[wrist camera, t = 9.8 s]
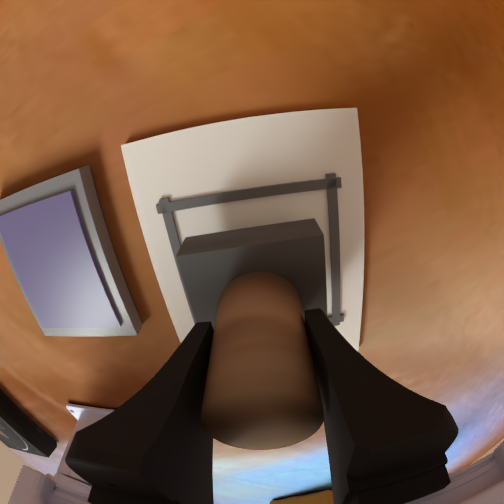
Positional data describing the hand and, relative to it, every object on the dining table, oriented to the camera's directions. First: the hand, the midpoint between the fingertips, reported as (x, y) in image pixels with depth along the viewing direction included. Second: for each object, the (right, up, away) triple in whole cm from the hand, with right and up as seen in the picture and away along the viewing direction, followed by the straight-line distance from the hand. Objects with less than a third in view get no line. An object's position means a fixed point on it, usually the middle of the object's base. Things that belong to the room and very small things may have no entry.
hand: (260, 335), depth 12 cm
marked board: (0, +3, +6) cm, 6 cm away
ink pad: (-13, +3, +6) cm, 14 cm away
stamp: (0, +2, +3) cm, 4 cm away
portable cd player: (-41, -22, +18) cm, 50 cm away
